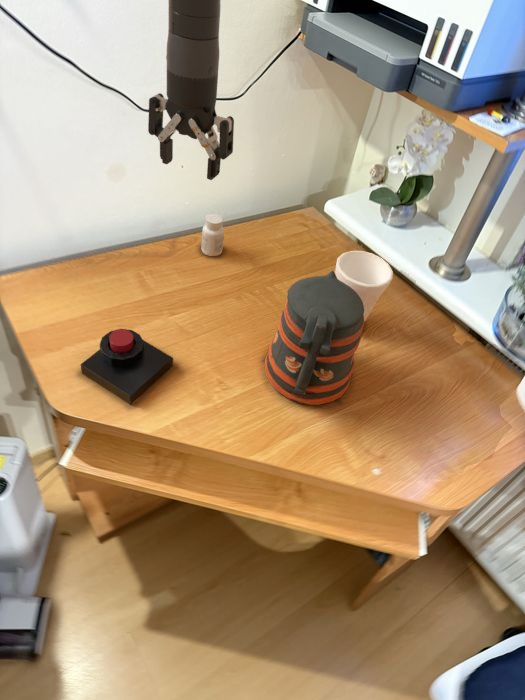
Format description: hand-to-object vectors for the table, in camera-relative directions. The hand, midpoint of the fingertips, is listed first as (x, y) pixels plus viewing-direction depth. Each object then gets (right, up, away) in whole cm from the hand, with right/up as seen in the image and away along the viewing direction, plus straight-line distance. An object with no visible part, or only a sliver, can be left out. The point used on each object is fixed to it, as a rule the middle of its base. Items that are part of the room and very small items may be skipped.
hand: (189, 169), depth 87 cm
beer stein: (+19, -36, -1) cm, 41 cm away
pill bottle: (+2, -10, +20) cm, 23 cm away
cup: (+28, -25, +11) cm, 39 cm away
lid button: (-10, -30, -6) cm, 32 cm away
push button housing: (-9, -34, -5) cm, 35 cm away
